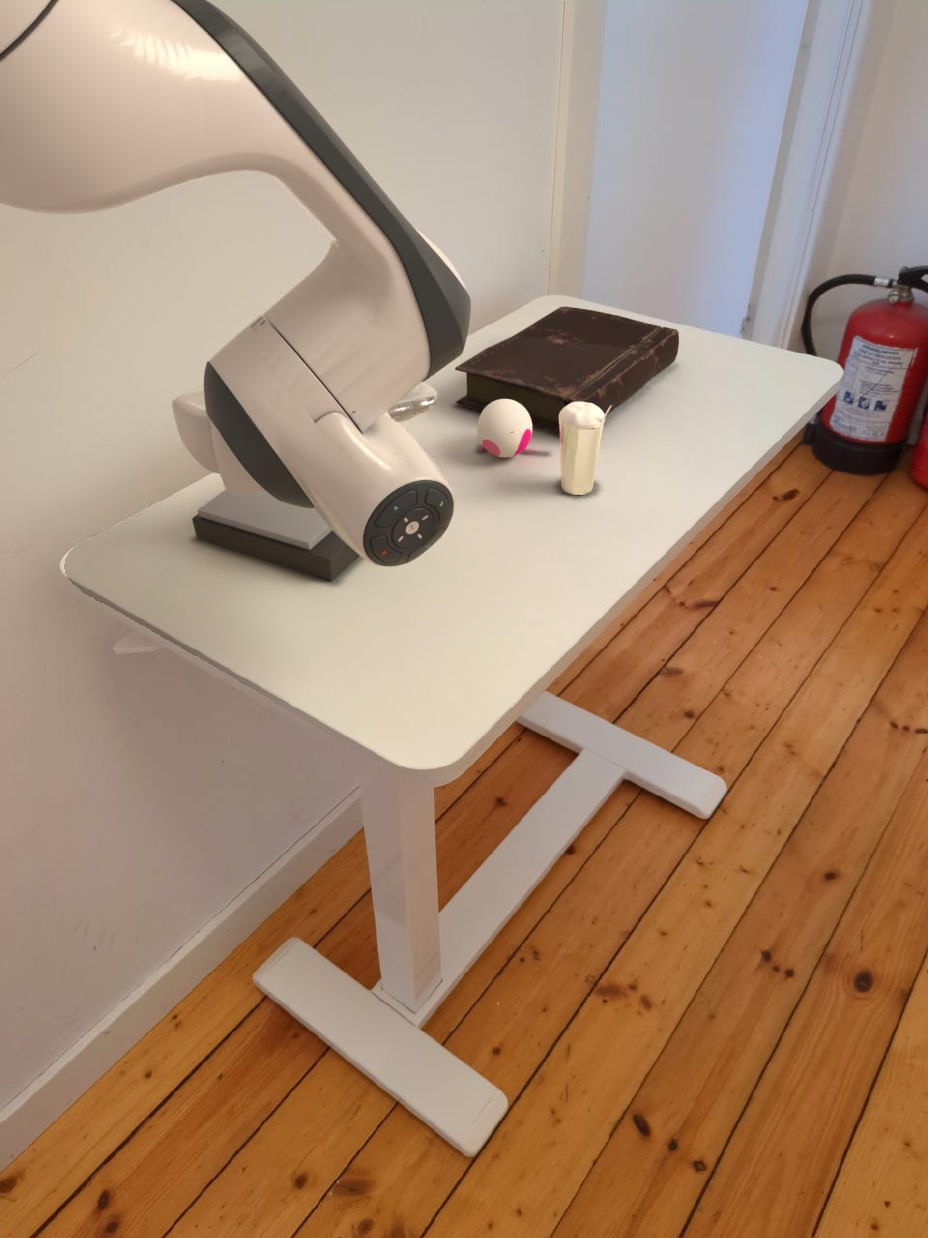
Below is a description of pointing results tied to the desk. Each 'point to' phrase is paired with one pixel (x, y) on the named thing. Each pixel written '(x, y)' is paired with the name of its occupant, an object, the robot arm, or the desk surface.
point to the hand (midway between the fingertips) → (273, 370)
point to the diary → (569, 363)
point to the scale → (274, 533)
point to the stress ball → (505, 428)
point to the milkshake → (580, 445)
